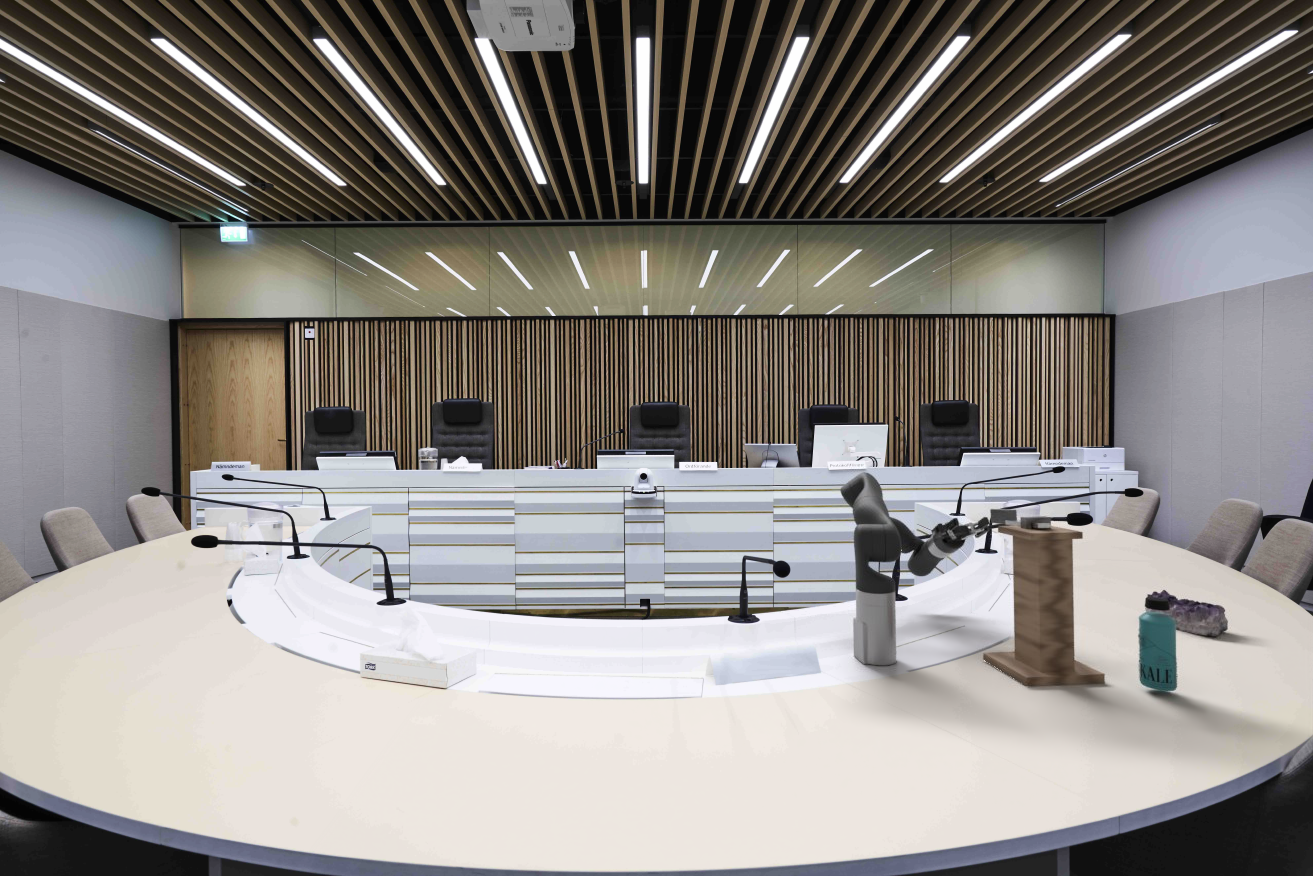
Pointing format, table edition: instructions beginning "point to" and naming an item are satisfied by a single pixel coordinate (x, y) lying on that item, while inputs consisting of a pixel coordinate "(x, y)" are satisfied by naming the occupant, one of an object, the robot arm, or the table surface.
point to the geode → (1194, 615)
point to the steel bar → (1011, 518)
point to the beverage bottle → (1157, 647)
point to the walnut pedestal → (1043, 609)
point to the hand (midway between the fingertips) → (972, 520)
